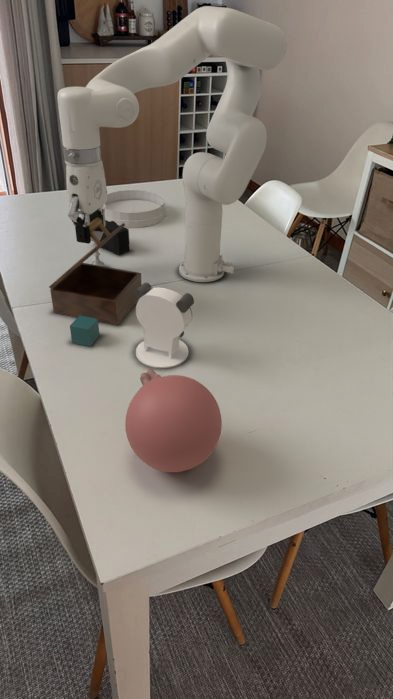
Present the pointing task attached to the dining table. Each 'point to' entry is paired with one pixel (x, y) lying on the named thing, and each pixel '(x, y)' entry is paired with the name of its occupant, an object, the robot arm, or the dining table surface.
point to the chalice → (98, 235)
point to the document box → (96, 293)
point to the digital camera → (116, 239)
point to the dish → (134, 208)
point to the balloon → (172, 422)
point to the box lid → (93, 226)
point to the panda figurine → (162, 325)
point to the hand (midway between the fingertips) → (90, 235)
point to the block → (84, 330)
